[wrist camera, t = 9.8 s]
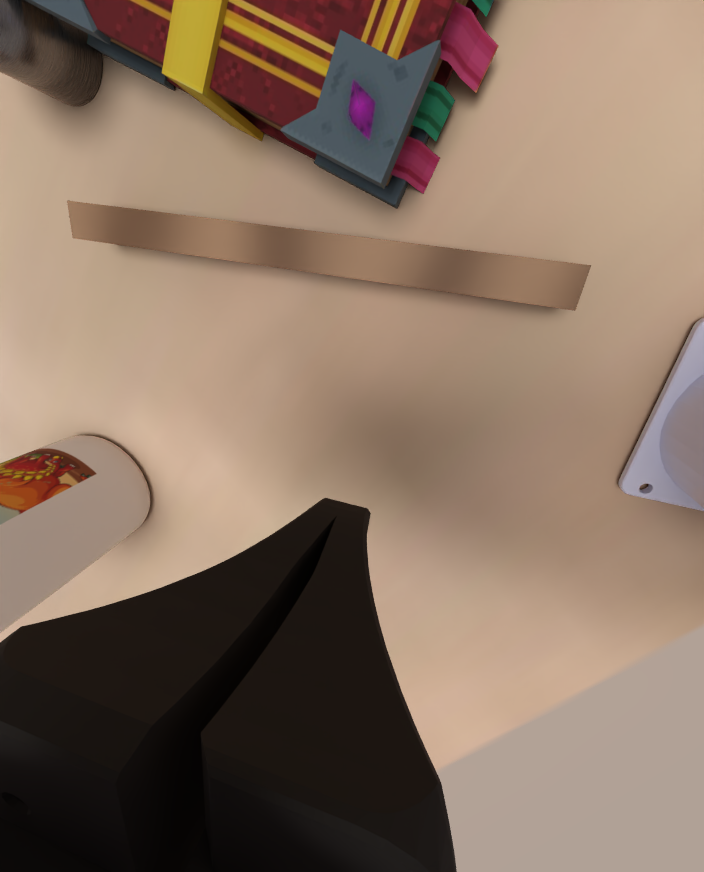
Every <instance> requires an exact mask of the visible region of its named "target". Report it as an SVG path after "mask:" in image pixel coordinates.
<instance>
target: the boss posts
mask: <svg viewBox="0 0 704 872" xmlns="http://www.w3.org/2000/svg"><path fill="white" fill-rule="evenodd" d="M87 40H88V33H86V32H84V31H82V30H80V29H78V28H76V27H74V26H73V25H71V24H69V23H67V22H65V21H63V20H61V19H59V18H57V17H55V16H53V15H51V14H50V13H48V12H46V11H44V10H42V9H40V8H38V7H36V6H34V5H32V4H30V3H28V2H27V1H25V0H0V72H2V73H4V74H6V75H8V76H10V77H12V78H14V79H16V80H18V81H20V82H22V83H24V84H26V85H28V86H31V87H33V88H35V89H37V90H39V91H41V92H43V93H45V94H47V95H49V96H51V97H53V98H55V99H57V100H59V101H61V102H64V103H66V104H68V105H71V106H82V105H84V104H87V103H88V102H89V101H90V100H91V99H92V98H93V97H94V96H95V94H96V92H97V90H98V88H99V85H100V82H101V77H102V55H101V53H100V52H99V51H97V50H96V49H94V48H93V47H91V46H90V45H88V44H87Z"/></svg>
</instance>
